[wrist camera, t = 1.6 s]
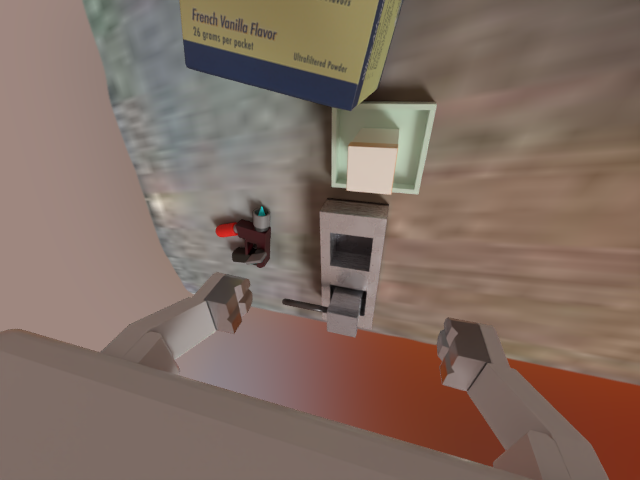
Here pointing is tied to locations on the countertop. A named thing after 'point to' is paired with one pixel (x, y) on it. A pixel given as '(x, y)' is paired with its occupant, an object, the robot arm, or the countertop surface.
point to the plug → (372, 160)
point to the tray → (388, 115)
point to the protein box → (293, 45)
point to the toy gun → (250, 238)
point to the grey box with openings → (349, 263)
